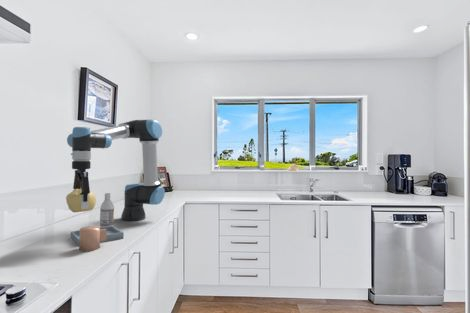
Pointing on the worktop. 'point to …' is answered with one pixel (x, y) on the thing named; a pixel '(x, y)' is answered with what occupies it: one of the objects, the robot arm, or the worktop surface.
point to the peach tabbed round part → (91, 238)
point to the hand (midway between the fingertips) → (80, 206)
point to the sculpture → (79, 201)
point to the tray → (111, 234)
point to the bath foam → (107, 212)
